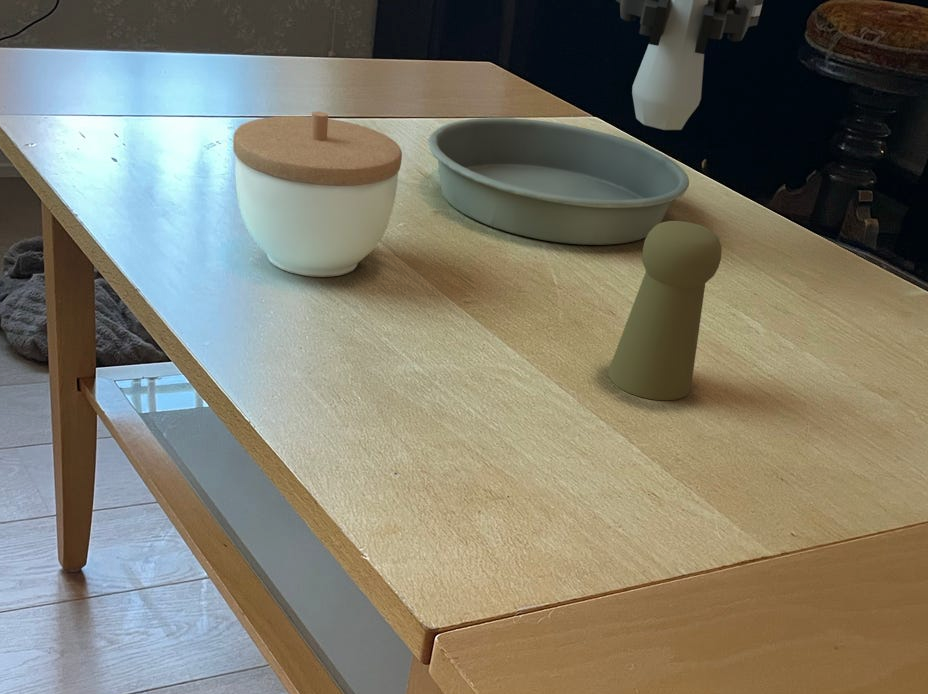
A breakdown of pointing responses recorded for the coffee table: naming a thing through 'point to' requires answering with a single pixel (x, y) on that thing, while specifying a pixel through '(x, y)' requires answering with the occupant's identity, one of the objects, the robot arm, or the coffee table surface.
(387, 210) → the lidded bowl
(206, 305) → the coffee table surface
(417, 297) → the coffee table surface
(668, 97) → the salt shaker
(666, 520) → the coffee table surface
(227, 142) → the coffee table surface
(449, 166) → the cake pan
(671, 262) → the olive pawn figure
